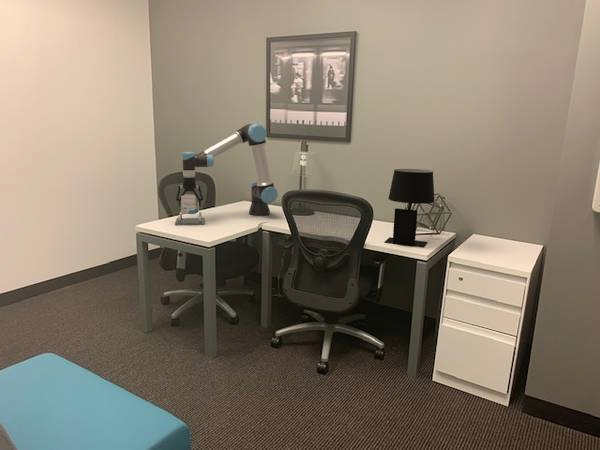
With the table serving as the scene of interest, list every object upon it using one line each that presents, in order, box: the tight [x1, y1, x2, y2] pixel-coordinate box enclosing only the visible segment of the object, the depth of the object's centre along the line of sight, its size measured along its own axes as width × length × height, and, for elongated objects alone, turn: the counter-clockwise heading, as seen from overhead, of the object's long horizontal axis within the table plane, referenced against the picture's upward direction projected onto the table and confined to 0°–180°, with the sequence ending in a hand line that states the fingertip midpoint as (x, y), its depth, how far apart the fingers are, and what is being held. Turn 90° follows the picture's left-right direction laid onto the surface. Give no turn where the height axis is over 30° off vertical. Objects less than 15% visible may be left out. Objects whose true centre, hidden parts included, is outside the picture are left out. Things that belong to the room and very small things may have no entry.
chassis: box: [174, 211, 205, 226], centre depth 293 cm, size 18×16×6 cm
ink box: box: [180, 193, 199, 215], centre depth 291 cm, size 8×8×12 cm
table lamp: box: [383, 168, 435, 248], centre depth 256 cm, size 26×28×40 cm
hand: (190, 211), depth 292 cm, fingers closed on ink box, 10 cm apart
